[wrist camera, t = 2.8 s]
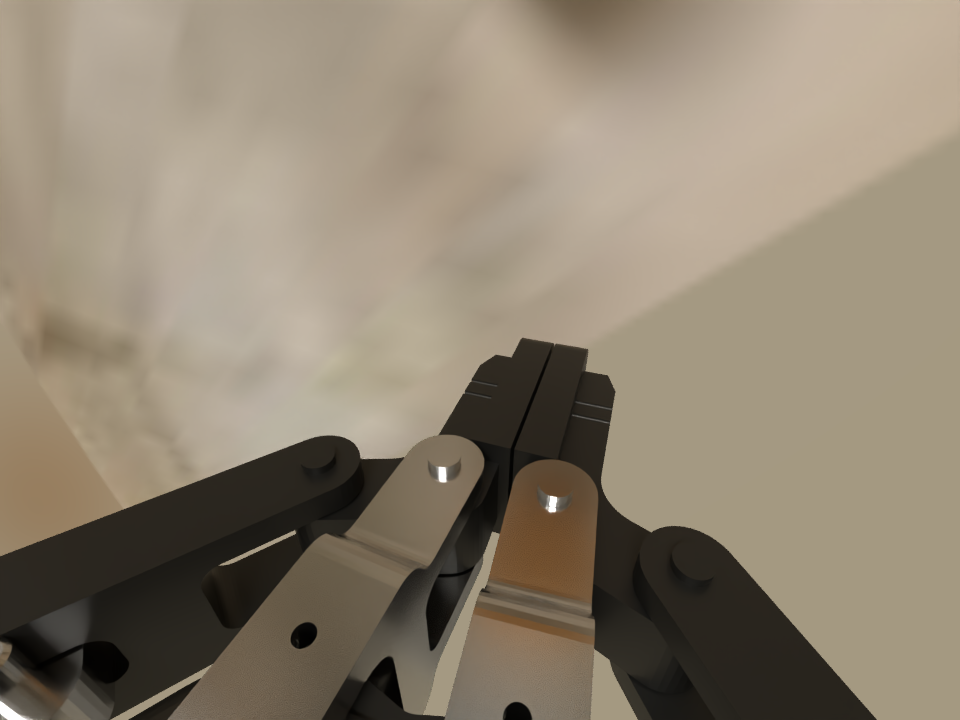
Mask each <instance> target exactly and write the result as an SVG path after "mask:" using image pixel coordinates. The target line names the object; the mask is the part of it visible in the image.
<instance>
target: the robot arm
mask: <svg viewBox="0 0 960 720" xmlns="http://www.w3.org/2000/svg"><path fill="white" fill-rule="evenodd" d="M587 357H588V349H584V348H578V347H573V346H567V345H561V344H555V346H554V343H549V342H543V341H538V340H532V339H526V338H522V339H521V340H520V342H519V344H518V346H517V348H516V350H515V352H514V354H513V356H512V358H511V357H505V356H500V355H495V356H493V357H492V358H490V359H489V360H487V361H486V362H484V363H483V364H481V365H480V366H479V368H478V370H477V372H476V373H475V375H474V377H473V378H472V382H470V383H469V385H468V387H467V388H466V390H465V394H463V395H462V397H461V398H460V400H459V402H458V403H457V405H456V407H455V409H454V410H453V412H452V414H451V415H450V417H449V419H448V420H447V422H446V424H445V425H444V427H443V429H442V430H441V432H440V434H439V435H438V436H433V437H429V438H427V439H424V440H422V441H421V442H419V443H417V444H416V445H415V446H414V447H413V448H412V449H411V450H410V451H409V452H408V454H407V455H406V456H405V457H403V458H396V459H361V458H360V453H359V450H358V448H357V447H356V445H355V444H354V443H353V442H351V441H350V440H348V439H346V438H343V437H339V436H319V437H314V438H311V439H308V440H305V441H303V442H300V443H297V444H295V445H292V446H289V447H287V448H284V449H282V450H279V451H276V452H274V453H271V454H268V455H266V456H263V457H260V458H258V459H255V460H253V461H250V462H247V463H245V464H242V465H239V466H237V467H234V468H232V469H229V470H226V471H224V472H221V473H218V474H216V475H213V476H210V477H208V478H205V479H203V480H200V481H197V482H195V483H192V484H189V485H187V486H184V487H182V488H179V489H176V490H174V491H171V492H168V493H166V494H163V495H160V496H158V497H155V498H153V499H150V500H147V501H145V502H142V503H139V504H137V505H134V506H132V507H129V508H126V509H124V510H121V511H118V512H116V513H113V514H111V515H108V516H105V517H103V518H100V519H97V520H95V521H92V522H90V523H87V524H84V525H82V526H79V527H76V528H74V529H71V530H69V531H66V532H63V533H61V534H58V535H55V536H53V537H50V538H47V539H45V540H42V541H40V542H37V543H34V544H32V545H29V546H26V547H24V548H21V549H18V550H16V551H13V552H11V553H8V554H5V555H3V556H0V720H110V719H112V718H114V717H116V716H118V715H120V714H121V713H123V712H125V711H127V710H129V709H131V708H132V707H134V706H136V705H138V704H140V703H142V702H143V701H145V700H147V699H149V698H151V697H153V696H154V695H156V694H158V693H160V692H162V691H163V690H165V689H167V688H169V687H171V686H173V685H175V684H176V683H178V682H180V681H182V680H184V679H186V678H188V677H189V676H191V675H193V674H195V673H197V672H199V671H200V670H202V669H204V668H206V667H208V666H209V665H211V664H213V665H212V666H211V667H210V668H209V670H208V671H207V672H206V673H205V674H204V676H203V677H202V678H200V679H198V680H196V681H195V682H193V683H191V684H189V685H187V686H185V687H184V688H182V689H180V690H178V691H177V692H175V693H173V694H172V695H170V696H168V697H167V698H165V699H163V700H161V701H160V702H158V703H156V704H155V705H153V706H151V707H149V708H148V709H146V710H144V711H143V712H141V713H139V714H137V715H136V716H134V717H132V718H131V719H129V720H590V715H591V696H592V677H593V660H594V659H593V658H594V649H595V650H597V651H598V652H600V653H601V654H602V655H604V656H605V657H606V658H608V659H609V660H610V663H611V667H612V670H613V672H614V675H615V677H616V679H617V681H618V683H619V684H620V686H621V688H622V690H623V692H624V694H625V696H626V698H627V700H628V702H629V703H630V705H631V707H632V709H633V711H634V713H635V715H636V717H637V719H638V720H876V718H875V717H874V716H873V715H872V714H871V713H870V712H869V710H868V709H867V708H866V707H865V706H864V705H863V704H862V702H861V701H860V700H859V699H858V698H857V697H856V696H855V694H854V693H853V692H852V691H851V690H850V689H849V688H848V686H847V685H846V684H845V683H844V682H843V681H842V680H841V678H840V677H839V676H838V675H837V674H836V673H835V672H834V671H833V669H832V668H831V667H830V666H829V665H828V664H827V663H826V661H825V660H824V659H823V658H822V657H821V656H820V655H819V653H818V652H817V651H816V650H815V649H814V648H813V647H812V645H811V644H810V643H809V642H808V641H807V640H806V639H805V637H804V636H803V635H802V634H801V633H800V632H799V631H798V630H797V628H796V627H795V626H794V625H793V624H792V623H791V622H790V620H789V619H788V618H787V617H786V616H785V615H784V614H783V612H782V611H781V610H780V609H779V608H778V607H777V606H776V604H775V603H774V602H773V601H772V600H771V599H770V598H769V597H768V595H767V594H766V593H765V592H764V591H763V590H762V589H761V587H760V586H758V584H757V583H756V582H755V581H754V579H753V578H752V577H751V576H750V575H749V574H748V573H747V571H746V570H745V569H744V568H743V567H742V566H741V565H740V564H739V562H737V560H736V559H735V558H734V557H733V556H732V554H731V553H729V551H728V550H727V549H726V548H725V547H723V546H722V545H721V544H720V543H719V542H717V541H716V540H714V539H713V538H711V537H710V536H708V535H706V534H704V533H702V532H700V531H697V530H694V529H691V528H686V527H680V526H669V527H663V528H659V529H657V530H655V531H653V532H652V533H651V532H649V531H647V530H646V529H644V528H642V527H640V526H639V525H637V524H635V523H633V522H631V521H630V520H628V519H627V518H625V517H624V516H622V515H621V514H620V513H619V512H617V511H616V510H615V508H613V506H612V505H611V504H610V503H609V501H608V500H607V498H606V496H605V495H604V492H603V489H602V485H601V474H602V468H603V462H604V456H605V450H606V444H607V438H608V431H609V426H610V420H611V414H612V408H613V402H614V396H615V390H614V388H613V385H612V383H611V381H610V379H609V377H608V376H607V375H602V374H597V373H591V372H586V371H585V370H586V364H587ZM294 530H295V531H296V534H295V535H293V536H291V537H288V538H286V539H284V540H282V541H280V542H278V543H275V544H273V545H271V546H269V547H267V548H265V549H263V550H260V551H258V552H256V553H254V554H252V555H250V556H248V557H246V558H243V559H241V560H239V561H237V562H235V563H232V564H229V565H224V566H218V565H220V564H222V563H224V562H226V561H229V560H231V559H233V558H235V557H237V556H239V555H242V554H244V553H246V552H248V551H250V550H252V549H255V548H257V547H259V546H261V545H263V544H265V543H268V542H269V541H272V540H274V539H276V538H278V537H281V536H283V535H285V534H287V533H289V532H291V531H294ZM492 532H496V533H499V534H500V536H499V540H498V544H497V547H496V551H495V555H494V559H493V563H492V567H491V571H490V575H489V579H488V582H487V585H486V587H485V589H482V590H481V591H480V593H479V596H478V598H477V601H476V604H475V608H474V611H473V615H472V619H471V622H470V626H469V630H468V633H467V637H466V641H465V645H464V648H463V652H462V656H461V660H460V663H459V667H458V671H457V674H456V678H455V682H454V686H453V690H452V693H451V697H450V701H449V705H448V708H447V712H446V715H445V717H443V716H430V715H423V713H424V710H425V708H426V705H427V702H428V699H429V696H430V693H431V690H432V685H433V681H434V676H435V672H436V668H437V665H438V662H439V660H440V657H441V655H442V652H443V650H444V648H445V646H446V644H447V641H448V639H449V637H450V635H451V633H452V631H453V628H454V626H455V624H456V622H457V620H458V618H459V615H460V613H461V611H462V609H463V607H464V604H465V602H466V600H467V598H468V595H469V594H470V591H471V589H472V587H473V585H474V583H475V580H476V578H477V576H478V574H479V572H480V570H481V567H482V563H483V554H484V552H485V549H486V547H487V544H488V541H489V539H490V536H491V533H492Z"/></svg>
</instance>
